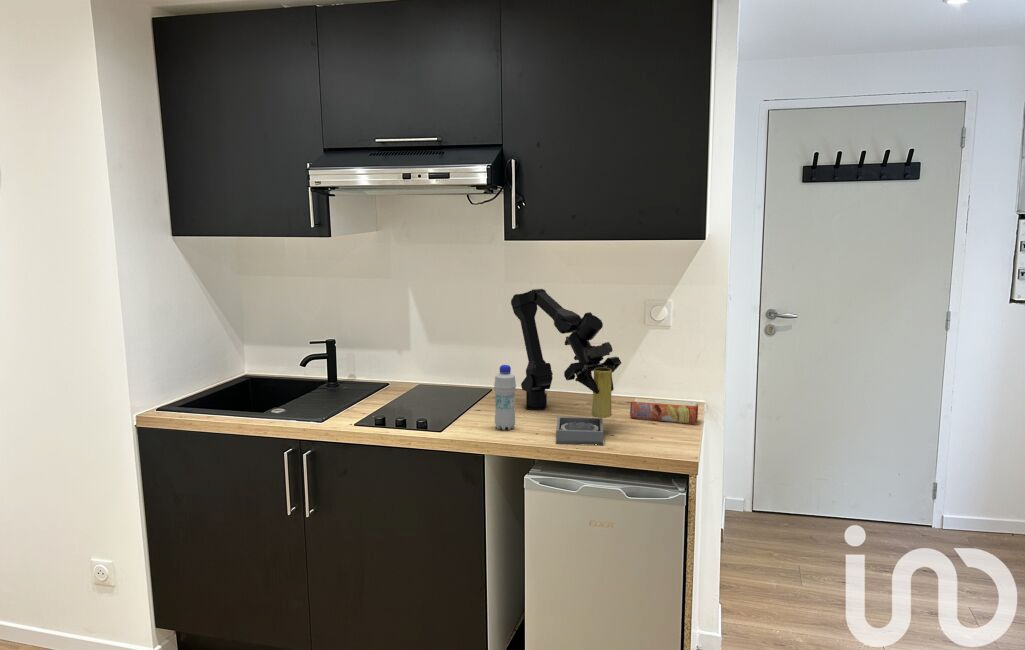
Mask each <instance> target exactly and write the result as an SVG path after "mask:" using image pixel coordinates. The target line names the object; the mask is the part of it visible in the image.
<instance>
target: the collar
mask: <svg viewBox="0 0 1025 650" xmlns="http://www.w3.org/2000/svg"><path fill="white" fill-rule="evenodd" d="M573 429H584V430H589V431H598V426H596V425H594V424H592V423H587V422H570V423H565V424H563V425H561V430H573Z"/></svg>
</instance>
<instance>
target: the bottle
mask: <svg viewBox="0 0 1025 650" xmlns="http://www.w3.org/2000/svg"><path fill="white" fill-rule="evenodd" d="M511 369H512V368H511V366H510V365H508V364H502V365H500V366H499V373H497V374H495V379H494V384H493V386H494V392H495V411H494V412H495V414H494V424H495V426H496V428H497V429H498V430H502V431H505V430H506V428H507V430H508V431H509V430H510V431H511V430H512V429H514V428H515V425H516V410H515V409H516V407H515V406H516V405H515V404H516V402H515V397H516V395H515V394H516V393H515V392H516V390H517V389H516V387H517V384H516V375H515V374H514V373H511V371H512V370H511ZM511 428H512V429H511Z"/></svg>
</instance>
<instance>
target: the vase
mask: <svg viewBox="0 0 1025 650" xmlns="http://www.w3.org/2000/svg"><path fill="white" fill-rule="evenodd" d="M611 375H612V376H613V372H612V370H611V369H610V368H606V367H598V368H595V369H594V371H593V379H594V381H595V383H596V385H597V387H598V390H599V393H598V394H596V393H595V392H593V391H592V401H591V402H592V405H591V412H590V413H591V416H592V417H593V418H602V419H608V418H611V416H613V414H612V391H611Z"/></svg>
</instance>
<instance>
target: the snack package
mask: <svg viewBox="0 0 1025 650" xmlns="http://www.w3.org/2000/svg"><path fill="white" fill-rule="evenodd" d="M629 408H630V409H629V410H630V411H629V416H630V418H632V419H637V418H638V419H637V420H639V419H640V420H641V419H642V420H648V419H649V420H651V421H657V420H658V422H659V421H660V422H666V421H667V423H668V422H669V423H670V422H671V423H679V424H686V425H696V424H697V422H698V418H699V403H698V402H696V401H679V400H667V399H666V400H663V399H649V398H636V397H635V398H633V399H632V400H631V402H630V407H629Z"/></svg>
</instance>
